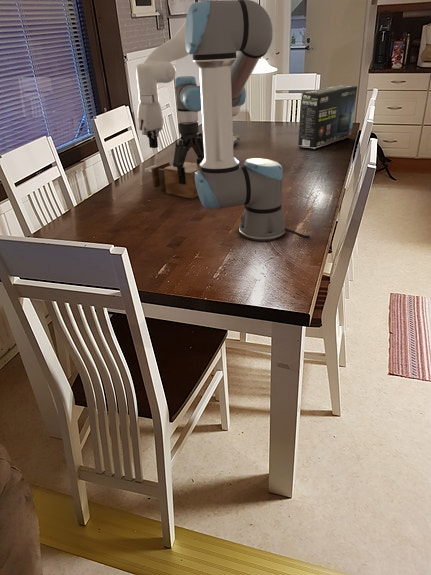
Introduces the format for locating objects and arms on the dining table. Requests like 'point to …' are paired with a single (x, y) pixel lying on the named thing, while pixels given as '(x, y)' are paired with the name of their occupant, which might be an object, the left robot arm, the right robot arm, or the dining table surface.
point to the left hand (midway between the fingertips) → (153, 147)
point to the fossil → (235, 138)
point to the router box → (326, 115)
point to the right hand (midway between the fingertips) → (191, 179)
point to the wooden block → (190, 186)
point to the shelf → (158, 174)
